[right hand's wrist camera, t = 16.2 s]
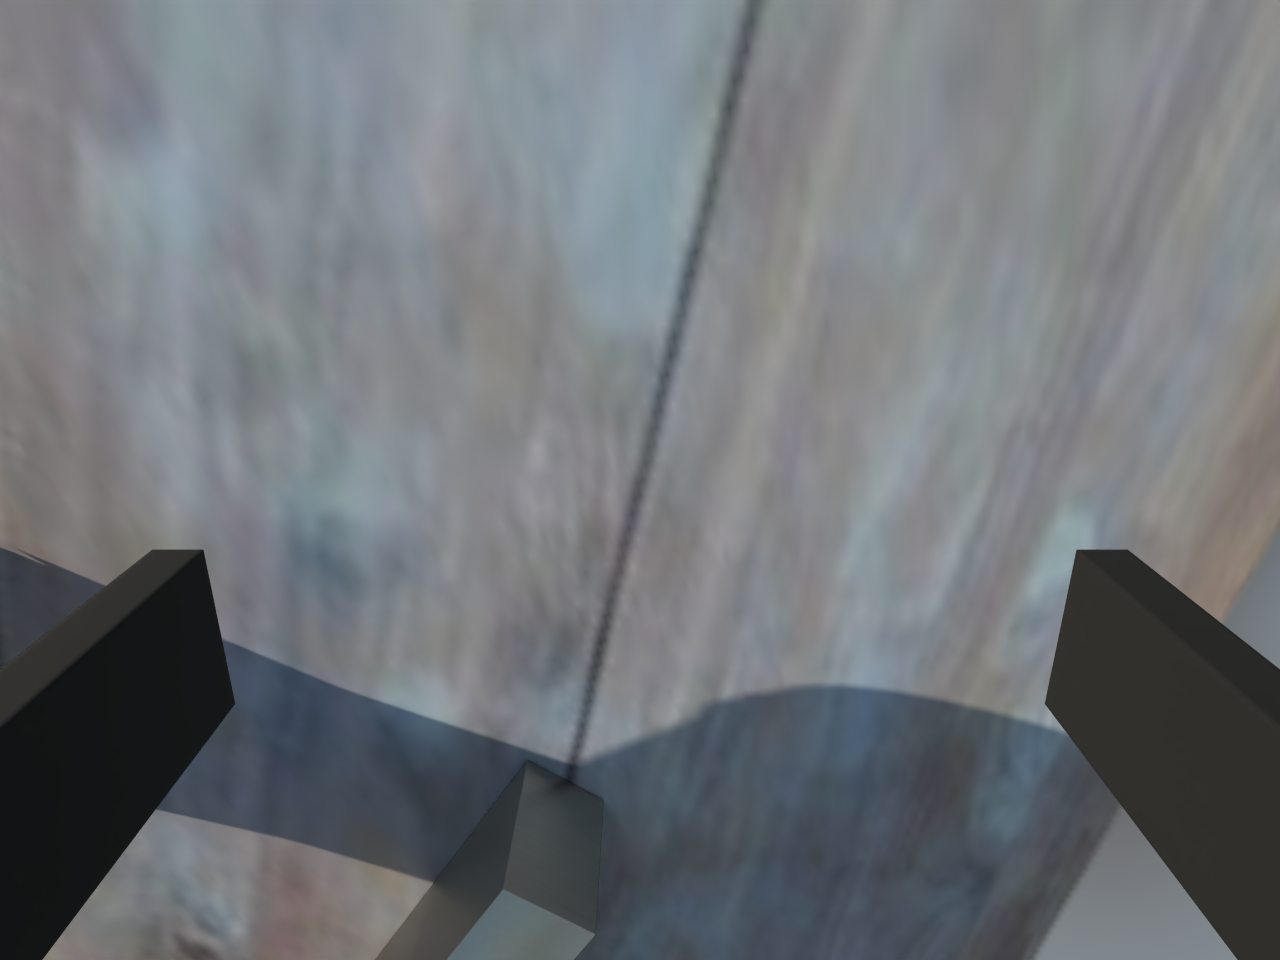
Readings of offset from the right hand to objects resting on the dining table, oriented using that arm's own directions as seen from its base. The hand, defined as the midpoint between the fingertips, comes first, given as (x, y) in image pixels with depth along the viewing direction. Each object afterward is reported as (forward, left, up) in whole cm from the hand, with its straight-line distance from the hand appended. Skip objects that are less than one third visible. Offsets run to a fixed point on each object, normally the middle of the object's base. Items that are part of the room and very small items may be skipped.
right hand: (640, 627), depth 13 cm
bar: (+20, +33, -28) cm, 47 cm away
